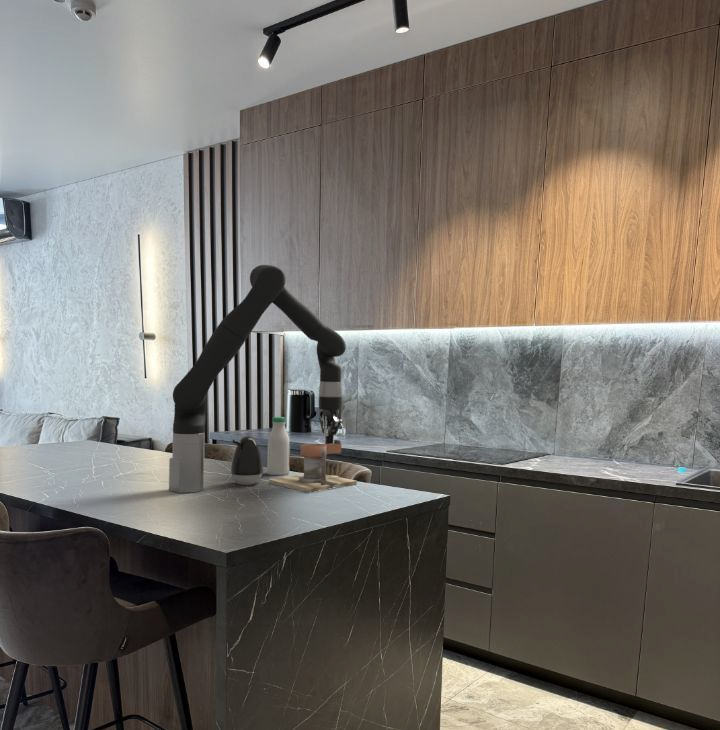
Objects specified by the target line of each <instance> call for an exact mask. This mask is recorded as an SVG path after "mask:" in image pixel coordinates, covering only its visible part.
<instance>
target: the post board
mask: <svg viewBox="0 0 720 730" xmlns="http://www.w3.org/2000/svg"><path fill="white" fill-rule="evenodd" d="M326 470H327V455H326V448H322V457H306V456H303V474H299V475H289V476H284V477H277V478H270V479H268V483H269V484H271V485H276V486H279V487H283V488H288V489H291V490H292V489H293V490H297V491H301V492H305V491H306V493H309V492H311V493H315V492H314V491H317V492H320V491H319V490H323V491H325V490H324V489H328V490H330V489H329V488H333V487H340V486H345V487H350V486H349V485H351V486H355V485H354V484H358V480H354V479H350V478H344V477H341V476H338V475H329V474H326V473H327V472H326ZM340 488H341V487H340Z"/></svg>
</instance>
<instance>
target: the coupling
mask: <svg viewBox="0 0 720 730" xmlns="http://www.w3.org/2000/svg"><path fill="white" fill-rule="evenodd" d="M322 448H326V456H327V455H329V454H331V455H332V454H342V442H341V439H333V443H332V444H325V443H302V444H300V451H299V452H300V456H302V457H304V456H306V457H322Z"/></svg>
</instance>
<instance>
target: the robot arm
mask: <svg viewBox="0 0 720 730" xmlns="http://www.w3.org/2000/svg"><path fill="white" fill-rule="evenodd" d="M249 283H250V286H251V288H250V290H249V291H248V293H247V295H246V296H245V298H244V299H243V300H242V301H241V302H240V303H239V304H237V305H236V306H235V307H234V308H233V309H232V310H231V311H230V312H229V313H227V314H226V316H224V318H223V319H222V320H220V322H219V324H218V326H217V327H216V328H215V330H214V331H213V333H212V334H211V336H210V337H209V339H208V341H207V342H206V344H205V345H204V347H203V349H202V351H201V353H200V355H199V357H198V359H197V360H196V361H195V363H194V365H193V366H192V367H191V368H190V369H189V370H188V372H187V373H186V374H184V375H185V376H183V377H182V379H180V381H179V382H178V383H176V385H175V387H174V389H173V390H172V391H173V392H172V400H173V403H174V415H173V423H172V453H171V454H172V457H170V458H169V465H168V467H169V469H168V471H169V473H168V490H169V491H171V492H174V493H177V494H182V493H184V494H185V493H196V492H201V491H203V490H204V489H205V488H204V484H205V481H204V480H205V437H206V436H205V434H206V433H205V432H206V421H207V420H206V414H207V412H206V411H207V394H208V392H209V390H210V388H211V386H212V385H213V382H215V380H216V378H217V377H218V376H219V374H220V373H221V371H223V370H224V368H225V367H226V366H227V365H228V364H229V363H230V362H231V361H232V360H233V359H234V357H235V356H236V355H237V354H238V352H239V351H240V349H241V348H242V346H243V345H244V344H245V342H246V340H247V339H248V338H249V337H250V334H251V332H252V331H253V330H254V328H255V327H256V325H257V324H258V322H259V321H260V319H261V317H262V315H263V314H264V313H265V311H266V310H267V309H268V308H269V307H270V306H271V304H273V305H274V306H276V307H277V308H278V309H279V310H280V311H281V312H282V313H284V314H285V316H287V318H289V320H290V321H291V322H292V323H293V324H294V325H295V326H296V327H297V328H298V329H299V330H300V331H301V332H302V334H304V335H305V336H306V337H307V338H308V339H310V340H311V341H315V342H317V344H316V356H317V361H318V365H319V369H320V373H319V386H318V387H319V388H318V410H321V411H322V415H321V417H320V418H319V424H320V429H321V433H322V434H324V437H325V440H324V441H325V442H324V444H332V443H334V436H337V433H338V431H339V428H340V426H341V420H339V419H338V411H340V410H341V409H342V367H341V366H340V365H339V364H337V363H336V359H335V358H336V357H341V356H343V355H344V353H345V352H346V348H347V347H346V342H345V340H344V338H343V337H342V336H341V334H339V333H338V332H337V331H335V330H334V329H332V328H331V327H330V326H328V325H326V324H325V323H324V321H322V319H320V317H318V316H317V314H316V313H315V312H313V310H312V309H310V308H309V307H308V306H307V305H305V303H303V302H302V301H300V300H299V299H298V298H297V297H295V295H293V294H292V293H291V292H290V291H289V290H288V289H287V287H286V286H285V285H286V274H285V272H284V270H282V268H280V267H278V266H275V265H269V264H260V265H257V266H256V267H254V268H252V270H251V272H250V275H249Z"/></svg>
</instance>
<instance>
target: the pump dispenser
mask: <svg viewBox="0 0 720 730" xmlns="http://www.w3.org/2000/svg"><path fill="white" fill-rule="evenodd" d="M231 443H233V444H235V446H236V447H235V450H234V452H233V456H232V459H231V465H230V474H231V477H232V479H233V481H234V482H235V483H236V484H238V485H240V486H253V485H255V484H257V483H258V482H259V481H260V480H261V478H262V475H263V473H264V466H263V458H262V454H261V451H260V448H259V445H258V443H257V441H256V439H255V438H253V437H252V436H243V437H241V439H240V440H236V439H232V441H231Z"/></svg>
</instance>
